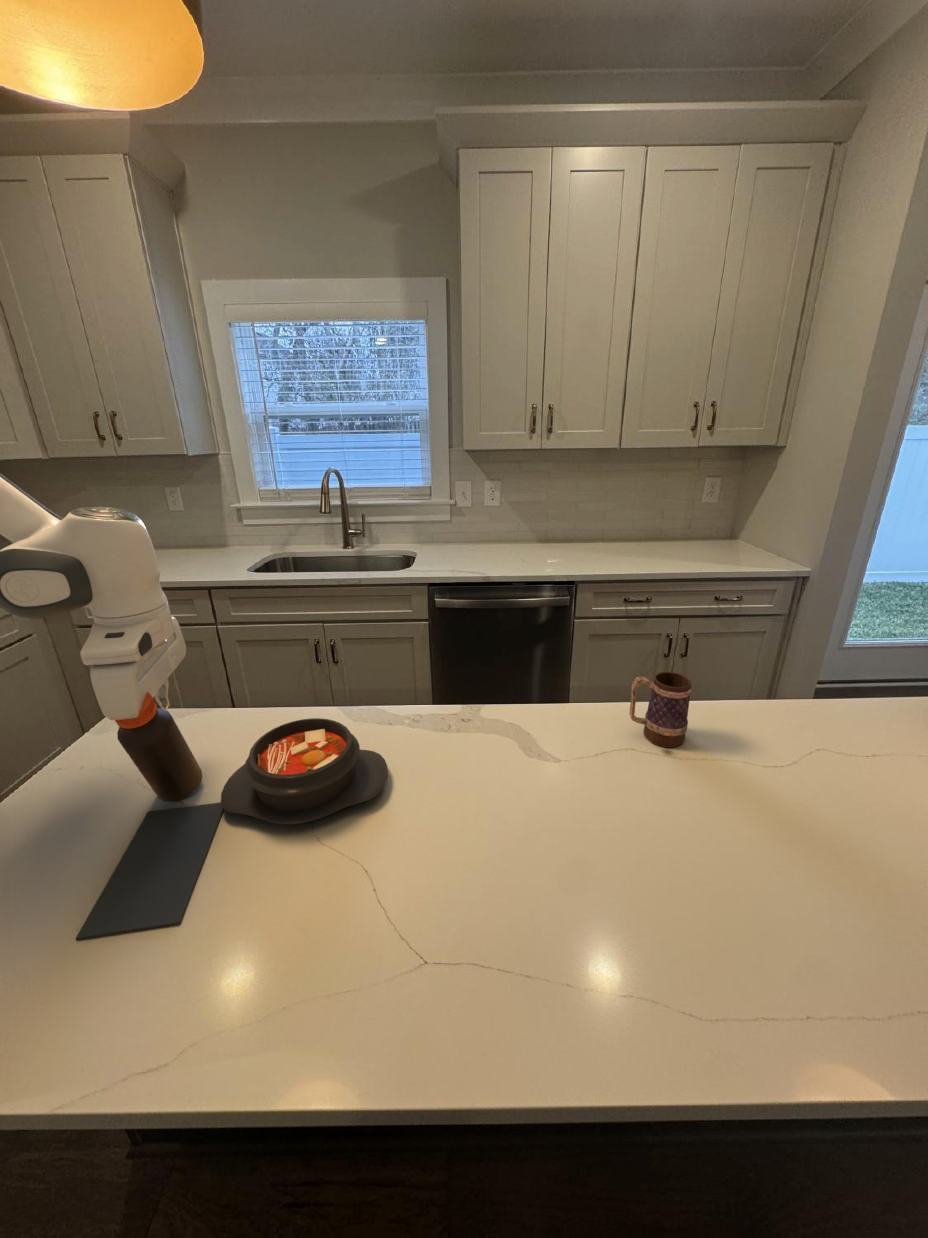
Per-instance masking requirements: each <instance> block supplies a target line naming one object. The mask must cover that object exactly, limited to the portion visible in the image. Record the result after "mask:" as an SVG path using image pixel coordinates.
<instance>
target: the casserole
mask: <svg viewBox="0 0 928 1238" xmlns="http://www.w3.org/2000/svg"><path fill="white" fill-rule="evenodd" d="M388 774H389V769H388V764H387V762H386V759H385V758H384V757H383V756H382V755H381V754H380V753H378V752H376V751H374V750H370V749H361V748H360V743H359V740H358V739H357V738H356V736H355V735H354V734H352V733H351V731H350V730H349V728H348V727H347V726H346V725H344V724H343V723H341V722H339V721H336V720H332V719H329V718H320V717H317V718H316V717H315V718H313V717H312V718H301V719H298V720H293V721H290V722H287V723H284V724H283V723H282V724H281V725H279V726H276V727H274V728H272V729H271V730H269V731H267V732H265V733H264V734H263V735H262V736H260V737H259V738H258V739H257V740H256V741H255V742H254V743H253V745H252V747H251V748H250V750H249V753H248V756H247V759H246V760H245V762H244V763H243V764H242V765H241V766H240V767H239V768H238V769H236V770H235V771H234V772H233V773H232V774H231V776H230V777H229V778H228V779H227V781H226V782H225V784H224V785H223V787H222V791H221V793H220V802H221V804H222V807H223V808H224V811H226V812H228V813H233V814H238V815H245V816H250V817H253V818H256V819H259V820H262V821H265V822H268V823H272V824H278V825H296V824H302V823H308V822H312V821H316V820H318V819H319V820H320V819H322V818H325V817H327V816H329V815H331V814H333V813H336V812H338V811H340V810H343V809H344V808H347V807H351V806H354V805H358V804H361V803H364V802H367V801H370V800H371V799H373V798H374V797H376V796H377V795H378V794H380V792H381V791H382V789H383V788H384V786H385V784H386V782H387V780H388Z"/></svg>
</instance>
